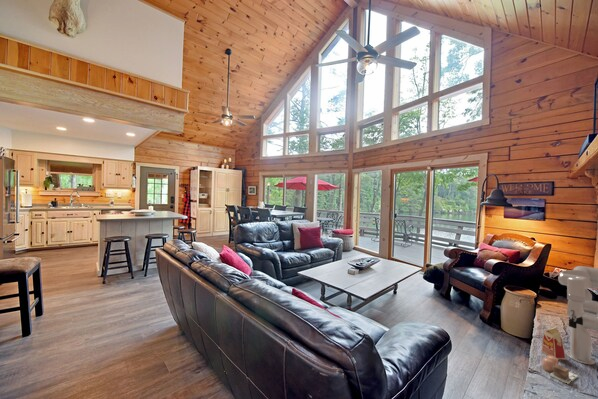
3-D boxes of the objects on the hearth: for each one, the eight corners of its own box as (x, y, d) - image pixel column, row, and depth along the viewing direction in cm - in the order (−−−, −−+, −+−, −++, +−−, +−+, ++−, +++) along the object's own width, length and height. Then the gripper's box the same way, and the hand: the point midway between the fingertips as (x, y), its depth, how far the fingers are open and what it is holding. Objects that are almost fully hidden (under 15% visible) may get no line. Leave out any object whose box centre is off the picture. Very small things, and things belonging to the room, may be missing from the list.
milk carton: (552, 351, 179) (552, 323, 179) (566, 359, 170) (566, 330, 170) (539, 351, 179) (540, 323, 179) (553, 359, 170) (553, 330, 170)
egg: (544, 366, 162) (544, 357, 163) (555, 371, 158) (555, 361, 158) (541, 368, 160) (541, 359, 160) (551, 373, 156) (551, 363, 156)
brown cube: (568, 377, 150) (568, 369, 150) (565, 380, 148) (565, 371, 148) (557, 372, 155) (557, 364, 155) (553, 374, 153) (553, 366, 153)
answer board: (559, 369, 160) (559, 367, 160) (577, 377, 153) (577, 375, 153) (549, 375, 154) (549, 373, 154) (568, 384, 146) (568, 382, 146)
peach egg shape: (549, 363, 165) (549, 354, 165) (559, 368, 161) (559, 358, 161) (545, 365, 163) (545, 356, 163) (556, 370, 159) (556, 360, 159)
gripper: (573, 293, 162) (572, 320, 162) (561, 298, 155) (561, 325, 155) (590, 297, 156) (590, 325, 156) (579, 302, 148) (579, 331, 148)
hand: (575, 325), depth 155 cm, fingers open, 9 cm apart
